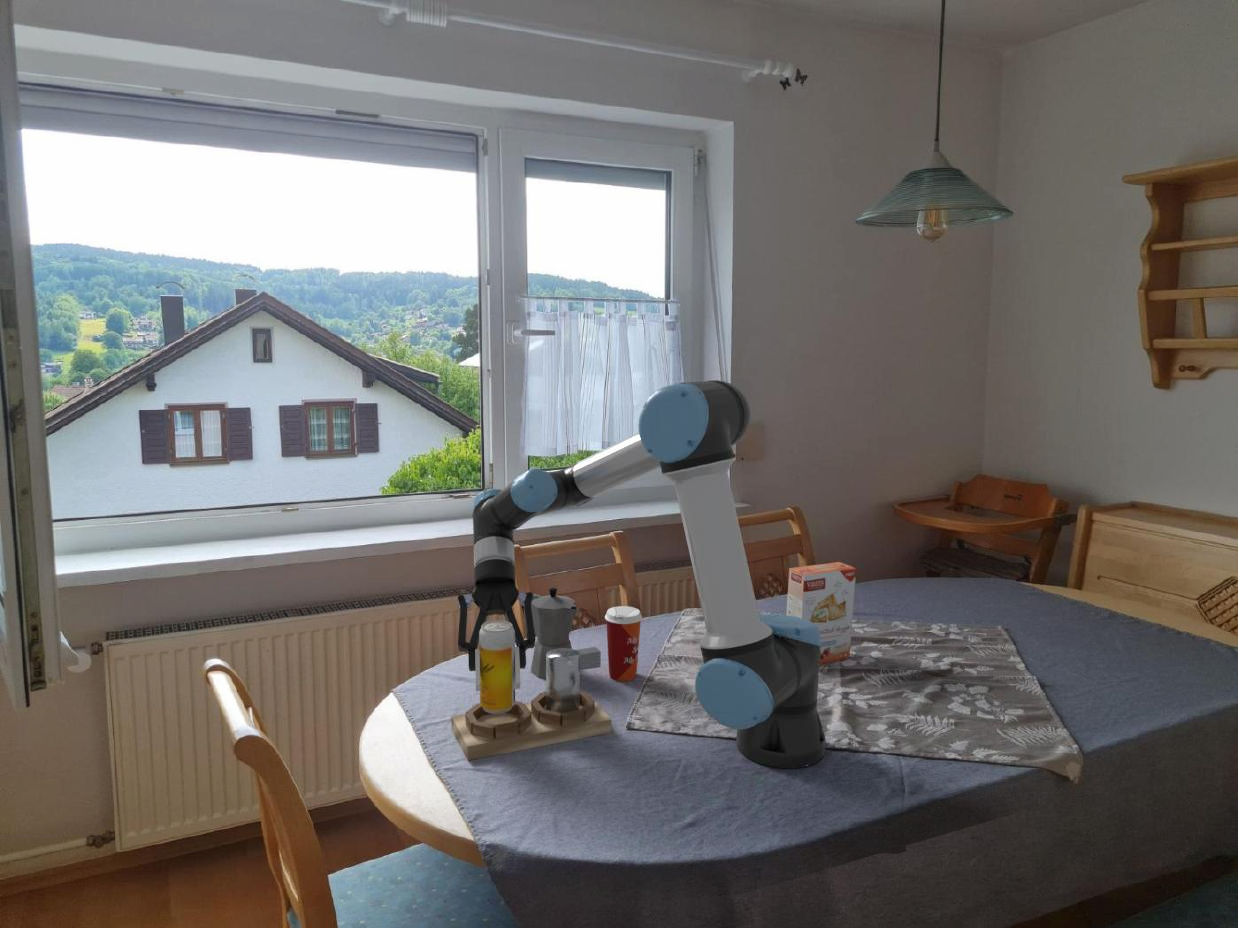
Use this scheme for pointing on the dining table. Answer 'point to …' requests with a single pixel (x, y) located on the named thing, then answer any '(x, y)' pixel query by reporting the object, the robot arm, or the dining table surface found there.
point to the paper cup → (623, 642)
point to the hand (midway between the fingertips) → (498, 686)
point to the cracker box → (825, 604)
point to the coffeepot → (550, 626)
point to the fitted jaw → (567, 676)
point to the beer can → (497, 666)
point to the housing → (526, 727)
